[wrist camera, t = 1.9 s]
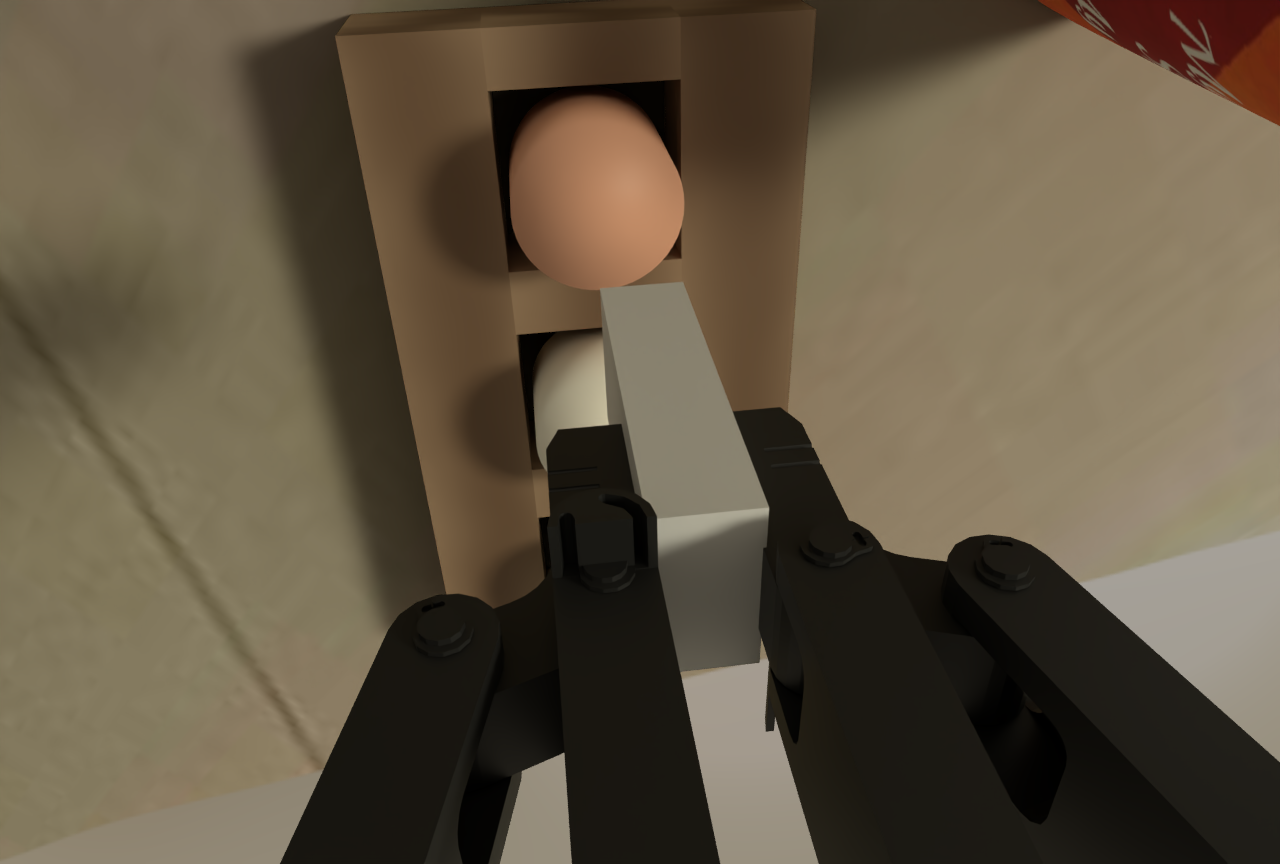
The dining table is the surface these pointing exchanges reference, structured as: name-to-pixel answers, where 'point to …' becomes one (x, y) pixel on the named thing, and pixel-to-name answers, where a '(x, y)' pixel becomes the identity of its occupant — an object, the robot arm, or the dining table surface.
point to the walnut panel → (504, 276)
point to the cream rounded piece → (569, 385)
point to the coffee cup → (1197, 42)
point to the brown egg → (593, 189)
